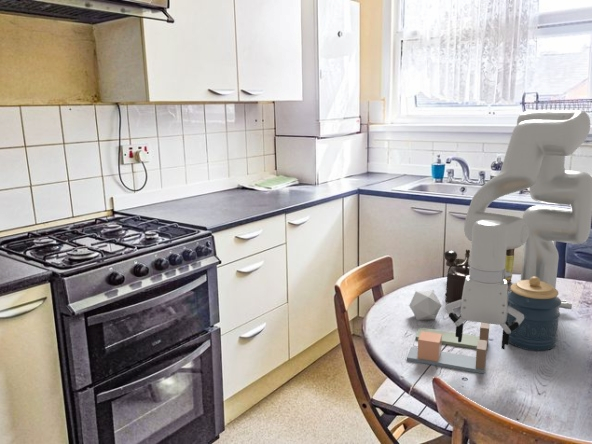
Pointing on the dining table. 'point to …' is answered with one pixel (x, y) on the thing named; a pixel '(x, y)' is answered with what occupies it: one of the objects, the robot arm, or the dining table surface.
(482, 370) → the cargo strip
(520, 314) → the robot arm
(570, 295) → the dining table surface
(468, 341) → the empty strip
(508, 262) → the sauce bottle
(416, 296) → the die
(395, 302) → the dining table surface
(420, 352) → the terracotta block
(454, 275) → the manual coffee grinder
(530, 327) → the canister
